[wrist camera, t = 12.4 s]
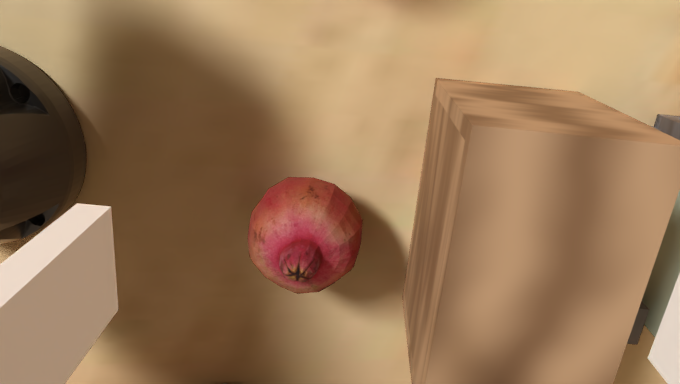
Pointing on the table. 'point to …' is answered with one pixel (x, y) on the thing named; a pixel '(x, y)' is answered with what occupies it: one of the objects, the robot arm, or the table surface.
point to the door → (664, 272)
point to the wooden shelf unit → (533, 235)
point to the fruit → (304, 234)
